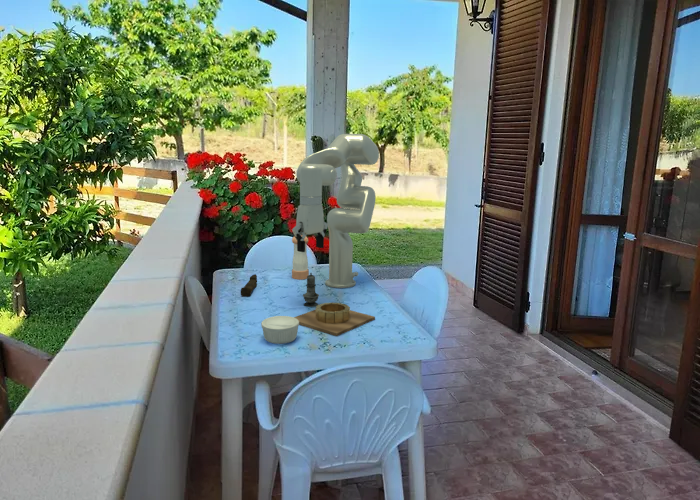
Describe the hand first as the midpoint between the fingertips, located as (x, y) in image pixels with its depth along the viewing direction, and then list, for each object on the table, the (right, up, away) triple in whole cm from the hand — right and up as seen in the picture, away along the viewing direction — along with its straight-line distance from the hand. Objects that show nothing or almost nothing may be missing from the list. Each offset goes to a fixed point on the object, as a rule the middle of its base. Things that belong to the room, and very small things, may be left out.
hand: (310, 249), depth 183 cm
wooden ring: (+8, -23, -12) cm, 28 cm away
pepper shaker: (-8, -12, +41) cm, 44 cm away
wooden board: (+8, -23, -12) cm, 28 cm away
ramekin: (-7, -27, -28) cm, 39 cm away
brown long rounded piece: (-26, -16, +21) cm, 37 cm away
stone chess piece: (0, -20, +4) cm, 21 cm away
